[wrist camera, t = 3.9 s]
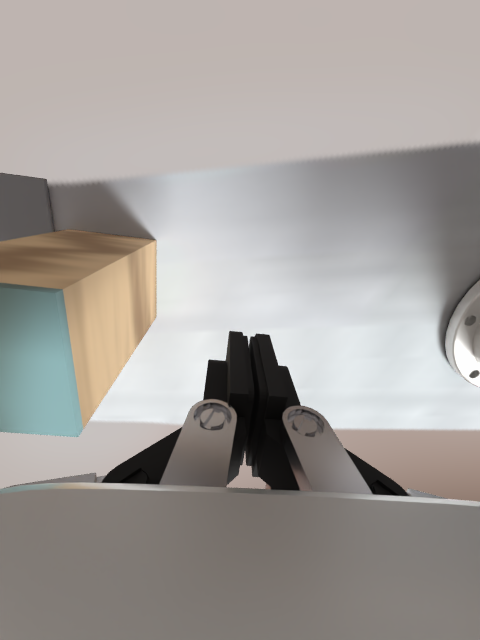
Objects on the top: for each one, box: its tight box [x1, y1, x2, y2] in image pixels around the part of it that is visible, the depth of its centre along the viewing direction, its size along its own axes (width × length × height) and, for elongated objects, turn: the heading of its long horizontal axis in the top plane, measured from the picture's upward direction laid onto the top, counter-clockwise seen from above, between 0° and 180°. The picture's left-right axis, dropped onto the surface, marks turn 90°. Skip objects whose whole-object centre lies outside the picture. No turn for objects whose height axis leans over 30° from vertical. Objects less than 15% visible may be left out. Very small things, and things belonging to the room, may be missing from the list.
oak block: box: [0, 229, 156, 437], centre depth 15 cm, size 6×6×12 cm
